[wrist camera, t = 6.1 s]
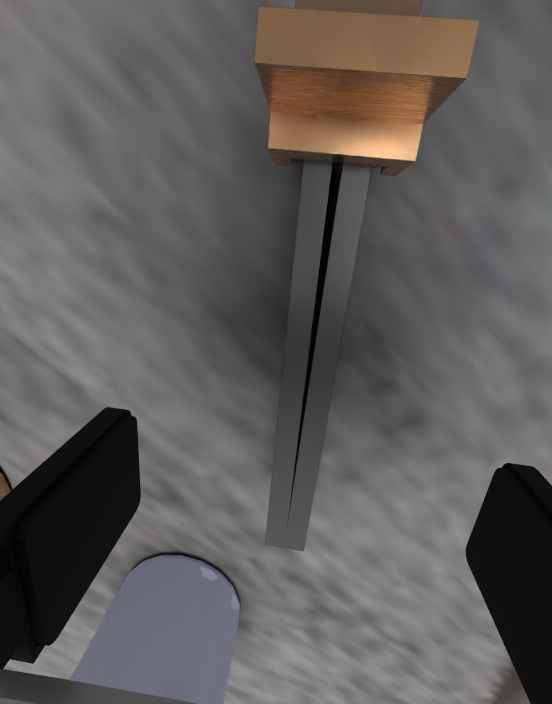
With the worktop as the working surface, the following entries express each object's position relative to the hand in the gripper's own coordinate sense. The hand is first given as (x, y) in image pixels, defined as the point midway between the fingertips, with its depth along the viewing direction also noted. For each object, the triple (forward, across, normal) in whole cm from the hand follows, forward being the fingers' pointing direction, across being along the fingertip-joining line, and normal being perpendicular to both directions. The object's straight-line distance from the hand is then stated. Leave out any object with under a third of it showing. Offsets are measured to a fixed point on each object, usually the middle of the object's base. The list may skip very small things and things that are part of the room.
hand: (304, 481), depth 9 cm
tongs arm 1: (+11, +1, 0) cm, 11 cm away
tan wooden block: (+8, 0, -9) cm, 12 cm away
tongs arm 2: (+11, -1, 0) cm, 11 cm away
